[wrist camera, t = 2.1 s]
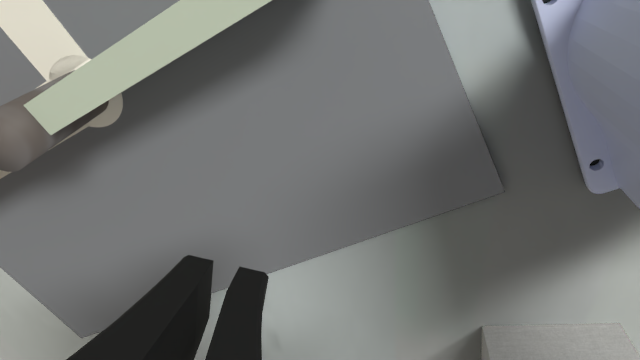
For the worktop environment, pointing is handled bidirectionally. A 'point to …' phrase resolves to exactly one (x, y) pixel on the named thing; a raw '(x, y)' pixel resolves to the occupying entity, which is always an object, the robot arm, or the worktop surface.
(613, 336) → the pink white carton
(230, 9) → the sage fence panel
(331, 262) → the worktop surface
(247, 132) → the card
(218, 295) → the worktop surface
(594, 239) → the worktop surface
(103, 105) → the walnut fence section
